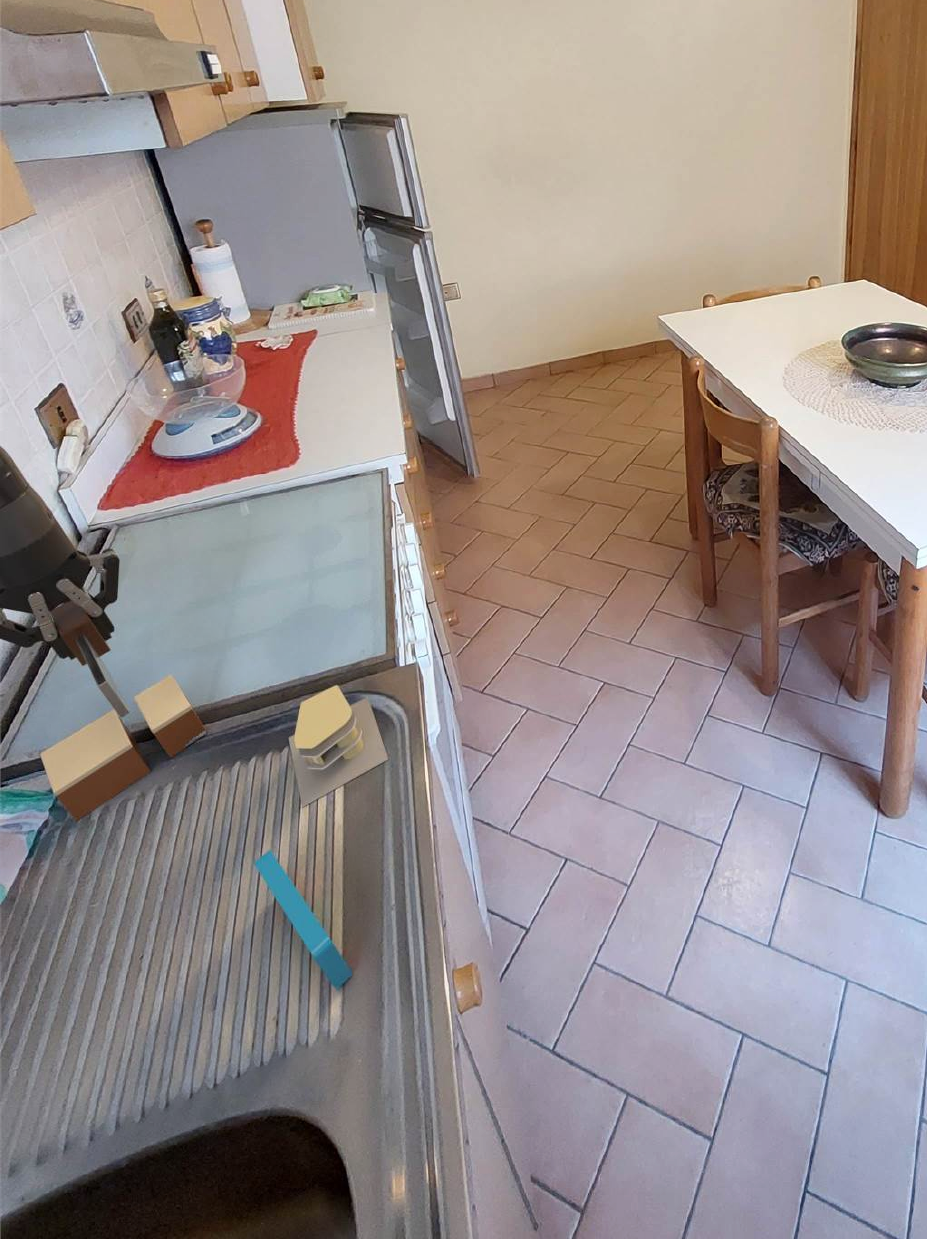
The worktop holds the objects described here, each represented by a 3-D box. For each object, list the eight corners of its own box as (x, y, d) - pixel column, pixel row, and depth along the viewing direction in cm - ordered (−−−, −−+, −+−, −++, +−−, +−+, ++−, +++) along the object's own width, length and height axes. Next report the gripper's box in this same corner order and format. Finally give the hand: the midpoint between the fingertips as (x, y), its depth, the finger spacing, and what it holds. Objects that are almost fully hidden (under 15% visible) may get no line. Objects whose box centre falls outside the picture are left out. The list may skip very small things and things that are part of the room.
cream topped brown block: (170, 758, 82) (151, 730, 80) (152, 724, 87) (133, 696, 84) (208, 733, 85) (190, 705, 82) (188, 701, 89) (171, 673, 87)
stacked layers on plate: (288, 737, 83) (271, 706, 81) (367, 696, 87) (354, 665, 85) (302, 807, 76) (283, 775, 73) (388, 759, 80) (374, 727, 77)
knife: (109, 724, 75) (86, 693, 73) (70, 640, 86) (49, 611, 84) (140, 706, 77) (118, 674, 74) (98, 626, 88) (77, 596, 85)
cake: (77, 820, 77) (53, 792, 74) (62, 781, 81) (39, 753, 78) (150, 771, 81) (130, 743, 79) (133, 736, 85) (113, 708, 83)
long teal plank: (276, 896, 68) (252, 860, 65) (292, 882, 69) (268, 847, 66) (337, 992, 61) (313, 956, 58) (354, 975, 62) (331, 939, 59)
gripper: (80, 487, 83) (147, 595, 92) (-80, 556, 75) (11, 668, 83) (96, 511, 79) (165, 623, 87) (-73, 588, 70) (23, 703, 78)
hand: (89, 645), depth 85 cm, fingers closed on knife, 3 cm apart
